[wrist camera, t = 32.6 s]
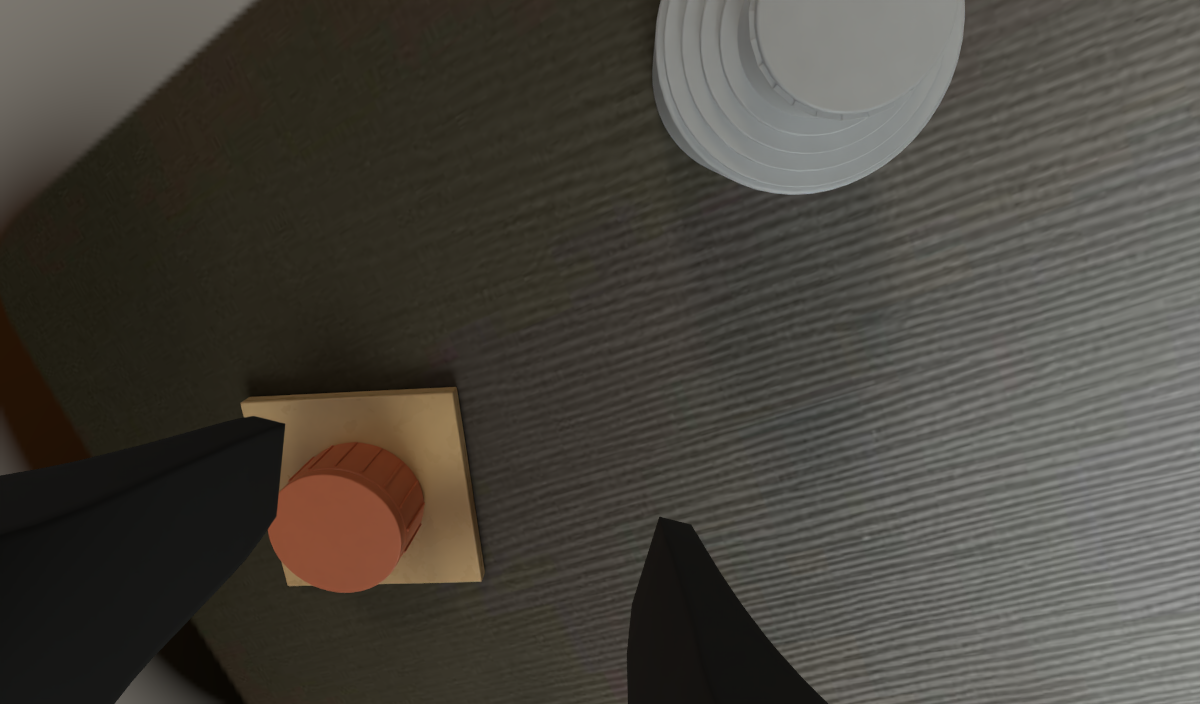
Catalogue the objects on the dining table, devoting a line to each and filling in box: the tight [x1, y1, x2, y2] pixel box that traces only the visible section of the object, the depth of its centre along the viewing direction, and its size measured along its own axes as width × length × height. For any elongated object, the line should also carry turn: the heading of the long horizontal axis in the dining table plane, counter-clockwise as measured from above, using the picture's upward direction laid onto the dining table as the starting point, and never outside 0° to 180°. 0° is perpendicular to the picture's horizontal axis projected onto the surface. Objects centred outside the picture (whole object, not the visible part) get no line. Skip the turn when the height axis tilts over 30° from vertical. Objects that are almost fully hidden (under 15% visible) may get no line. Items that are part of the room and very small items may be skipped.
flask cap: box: [268, 442, 425, 593], centre depth 23 cm, size 4×4×2 cm
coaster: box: [241, 387, 485, 586], centre depth 24 cm, size 8×8×1 cm
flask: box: [652, 0, 965, 195], centre depth 15 cm, size 6×6×10 cm
